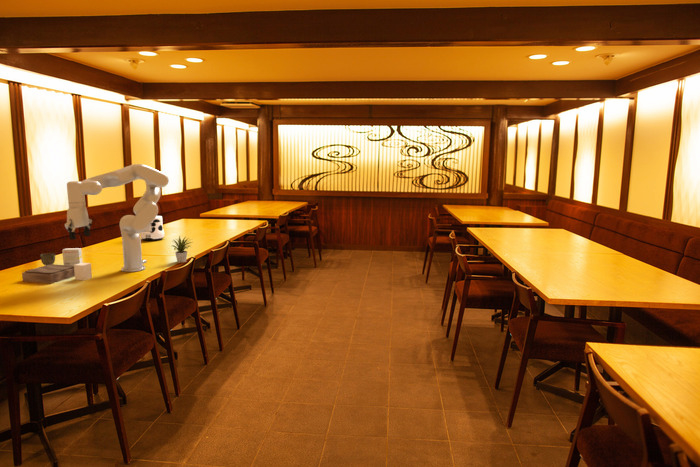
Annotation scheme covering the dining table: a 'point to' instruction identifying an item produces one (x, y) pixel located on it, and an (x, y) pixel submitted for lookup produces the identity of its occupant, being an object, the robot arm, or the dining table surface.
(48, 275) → the pedestal
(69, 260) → the ink box
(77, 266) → the block
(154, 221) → the milk container
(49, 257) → the cup
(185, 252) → the house plant
